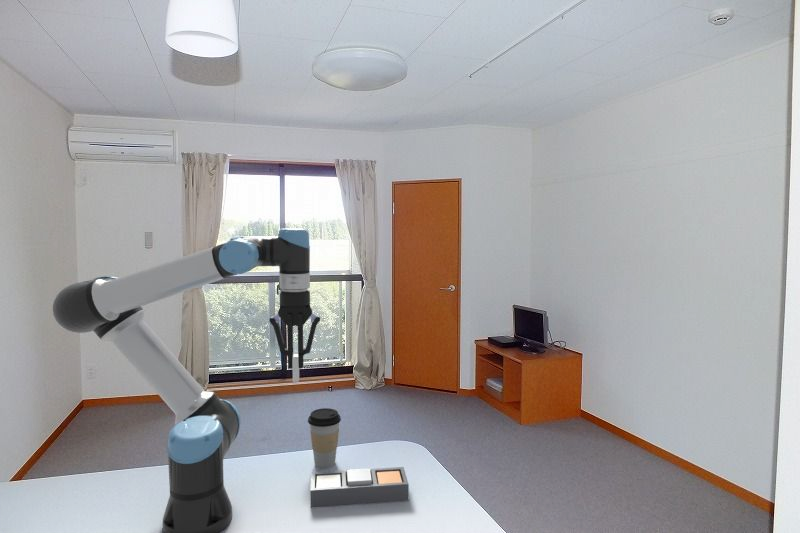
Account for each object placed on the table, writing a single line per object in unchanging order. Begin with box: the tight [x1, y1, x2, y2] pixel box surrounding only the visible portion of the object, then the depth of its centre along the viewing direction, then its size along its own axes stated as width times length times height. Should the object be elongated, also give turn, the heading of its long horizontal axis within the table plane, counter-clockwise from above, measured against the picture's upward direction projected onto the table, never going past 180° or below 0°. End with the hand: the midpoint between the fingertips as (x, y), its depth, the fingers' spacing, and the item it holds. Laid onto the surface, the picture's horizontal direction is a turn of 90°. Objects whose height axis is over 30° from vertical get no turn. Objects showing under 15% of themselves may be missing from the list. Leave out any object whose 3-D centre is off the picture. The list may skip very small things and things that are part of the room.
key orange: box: [377, 471, 402, 484], centre depth 130 cm, size 6×6×2 cm
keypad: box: [309, 466, 410, 509], centre depth 129 cm, size 24×9×4 cm, turn 98°
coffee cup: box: [307, 407, 342, 469], centre depth 145 cm, size 9×9×15 cm
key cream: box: [316, 475, 341, 488], centre depth 128 cm, size 6×6×2 cm
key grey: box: [347, 467, 372, 486], centre depth 129 cm, size 6×6×2 cm
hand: (296, 380), depth 129 cm, fingers closed
